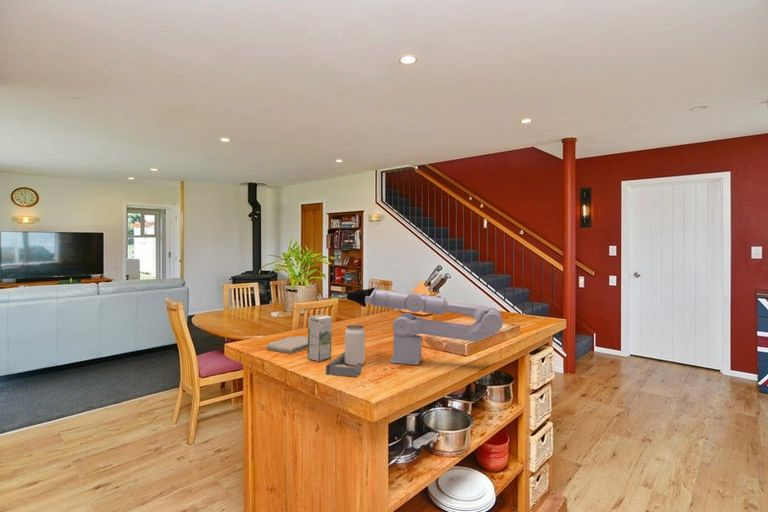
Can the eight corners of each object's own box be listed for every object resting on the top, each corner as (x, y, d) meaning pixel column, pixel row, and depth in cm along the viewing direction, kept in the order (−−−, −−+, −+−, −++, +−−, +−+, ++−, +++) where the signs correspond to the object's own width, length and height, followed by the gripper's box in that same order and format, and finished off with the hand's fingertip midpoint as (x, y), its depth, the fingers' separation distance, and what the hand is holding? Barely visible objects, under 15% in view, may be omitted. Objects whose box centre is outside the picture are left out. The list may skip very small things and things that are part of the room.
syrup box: (319, 355, 137) (320, 314, 137) (331, 358, 133) (332, 316, 133) (307, 358, 133) (307, 316, 132) (318, 362, 129) (319, 318, 129)
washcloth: (322, 345, 153) (322, 337, 153) (291, 355, 137) (291, 347, 137) (298, 341, 159) (298, 333, 159) (265, 351, 143) (266, 342, 143)
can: (361, 366, 125) (362, 329, 124) (342, 365, 126) (342, 328, 126) (366, 361, 131) (367, 325, 131) (347, 359, 132) (348, 324, 132)
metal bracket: (373, 359, 134) (373, 350, 134) (356, 377, 115) (356, 367, 115) (347, 356, 136) (347, 348, 136) (326, 374, 117) (326, 364, 117)
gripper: (394, 285, 140) (358, 281, 143) (384, 289, 126) (345, 284, 129) (392, 305, 140) (356, 300, 143) (383, 311, 126) (343, 306, 129)
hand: (350, 294), depth 136 cm, fingers open, 7 cm apart
